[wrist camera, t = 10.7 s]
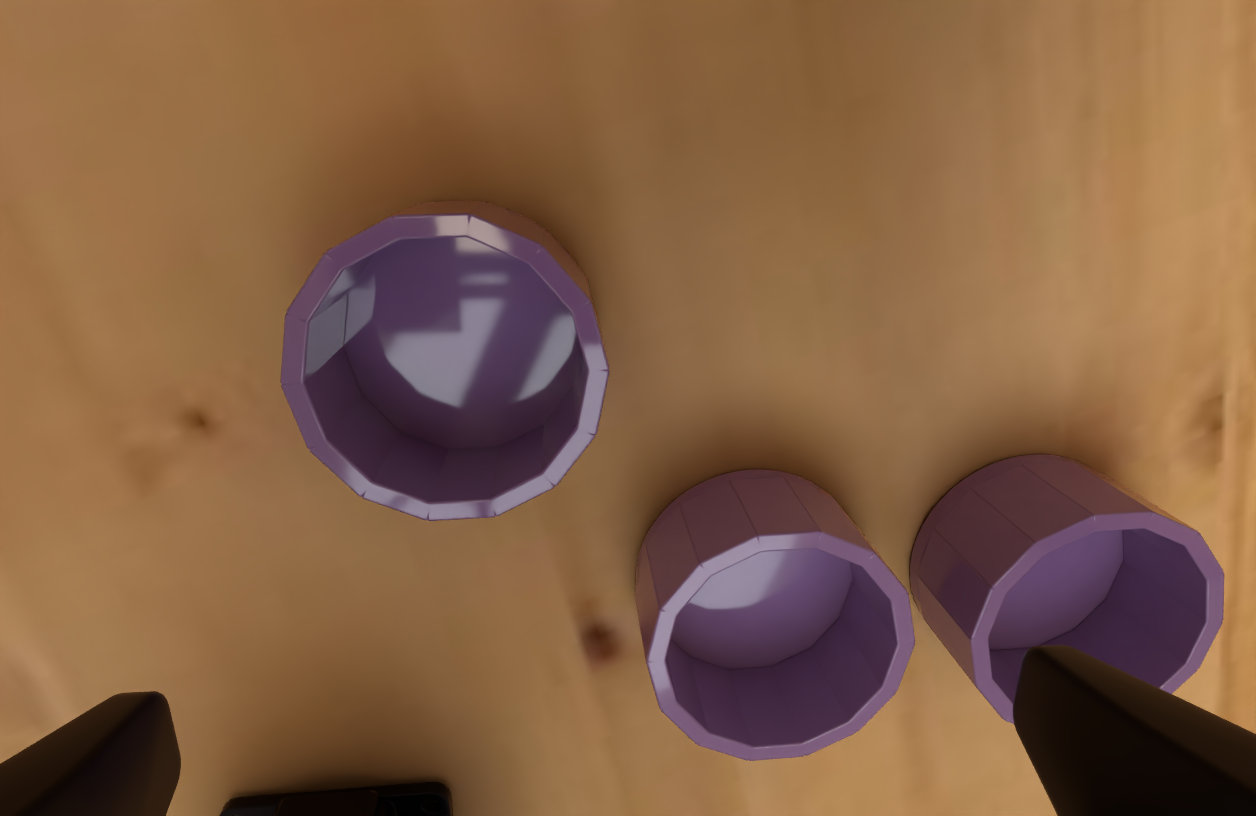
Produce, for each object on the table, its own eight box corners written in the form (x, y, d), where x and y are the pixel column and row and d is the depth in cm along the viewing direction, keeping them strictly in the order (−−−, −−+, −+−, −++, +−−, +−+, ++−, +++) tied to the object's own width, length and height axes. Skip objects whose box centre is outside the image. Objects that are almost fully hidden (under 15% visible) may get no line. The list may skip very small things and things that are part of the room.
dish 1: (604, 448, 20) (613, 511, 17) (348, 461, 20) (305, 529, 16) (596, 195, 18) (605, 208, 15) (310, 203, 17) (250, 219, 14)
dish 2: (851, 659, 23) (902, 749, 19) (634, 674, 22) (648, 770, 19) (869, 462, 21) (929, 524, 17) (630, 474, 20) (644, 541, 17)
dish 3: (1103, 640, 23) (1195, 725, 20) (896, 655, 23) (955, 745, 20) (1145, 447, 21) (1255, 505, 18) (918, 459, 21) (988, 521, 18)
